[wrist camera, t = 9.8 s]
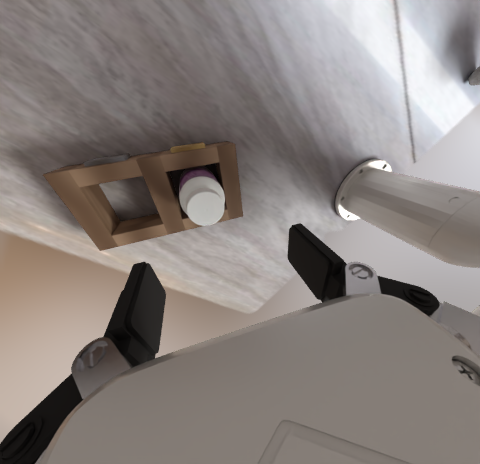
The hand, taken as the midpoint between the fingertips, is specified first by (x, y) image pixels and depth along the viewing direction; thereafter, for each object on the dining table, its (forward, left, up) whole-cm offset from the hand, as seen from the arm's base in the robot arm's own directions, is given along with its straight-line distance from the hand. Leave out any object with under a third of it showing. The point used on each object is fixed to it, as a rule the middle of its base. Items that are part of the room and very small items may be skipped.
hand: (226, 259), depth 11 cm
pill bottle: (0, 0, -18) cm, 18 cm away
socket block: (+5, 0, -18) cm, 18 cm away
